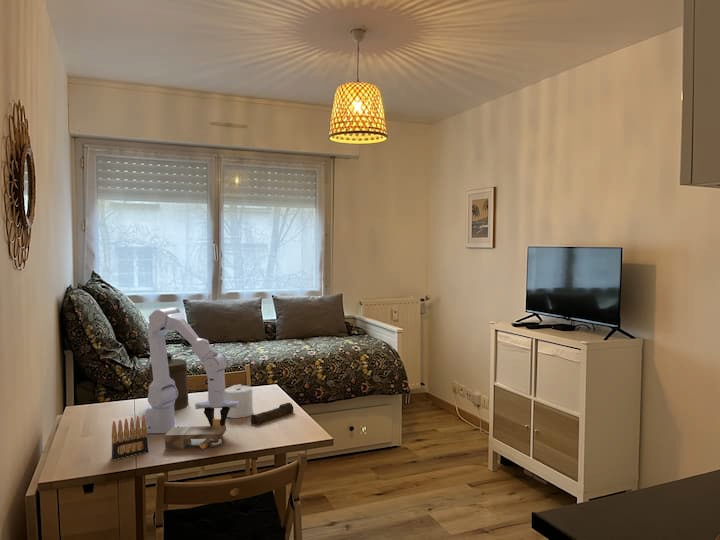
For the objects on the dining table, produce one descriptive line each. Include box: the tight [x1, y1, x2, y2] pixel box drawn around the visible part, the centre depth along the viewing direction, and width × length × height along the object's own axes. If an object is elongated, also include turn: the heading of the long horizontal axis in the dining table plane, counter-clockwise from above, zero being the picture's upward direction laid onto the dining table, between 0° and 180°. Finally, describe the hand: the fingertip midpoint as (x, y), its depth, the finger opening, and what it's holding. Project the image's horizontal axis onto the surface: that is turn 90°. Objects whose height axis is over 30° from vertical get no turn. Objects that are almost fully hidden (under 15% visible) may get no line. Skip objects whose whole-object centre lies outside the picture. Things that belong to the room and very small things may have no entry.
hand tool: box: [250, 402, 294, 426], centre depth 209 cm, size 19×4×5 cm, turn 134°
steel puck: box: [208, 438, 223, 448], centre depth 183 cm, size 4×4×2 cm
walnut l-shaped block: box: [164, 425, 227, 451], centre depth 183 cm, size 18×8×5 cm, turn 91°
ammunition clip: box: [111, 414, 149, 461], centre depth 175 cm, size 11×2×12 cm, turn 125°
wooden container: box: [148, 352, 189, 411], centre depth 228 cm, size 15×15×22 cm
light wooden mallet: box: [199, 416, 221, 450], centre depth 186 cm, size 3×13×6 cm, turn 171°
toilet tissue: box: [225, 383, 254, 419], centre depth 216 cm, size 11×12×10 cm
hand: (217, 428), depth 191 cm, fingers closed on light wooden mallet, 3 cm apart
